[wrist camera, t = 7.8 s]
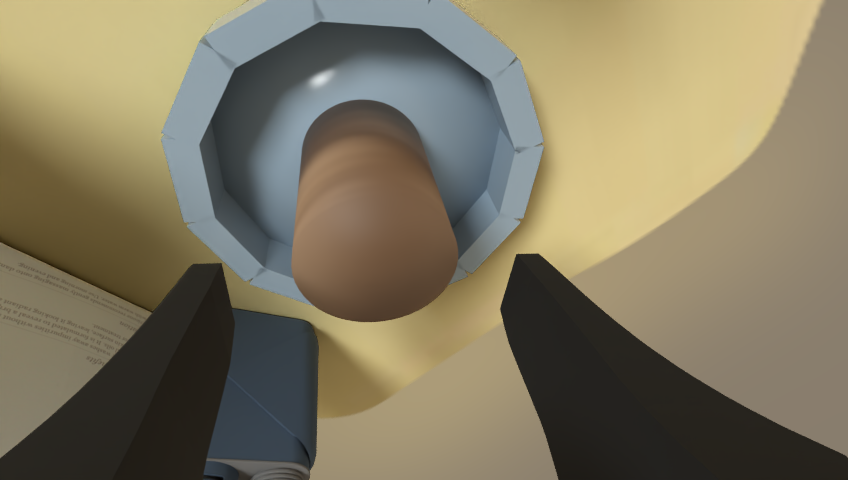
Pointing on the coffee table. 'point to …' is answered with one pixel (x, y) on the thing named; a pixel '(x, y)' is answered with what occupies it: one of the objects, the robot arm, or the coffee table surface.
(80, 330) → the skincare box
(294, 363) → the vaping device
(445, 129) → the round tray
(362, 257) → the brown cylinder
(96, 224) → the coffee table surface
